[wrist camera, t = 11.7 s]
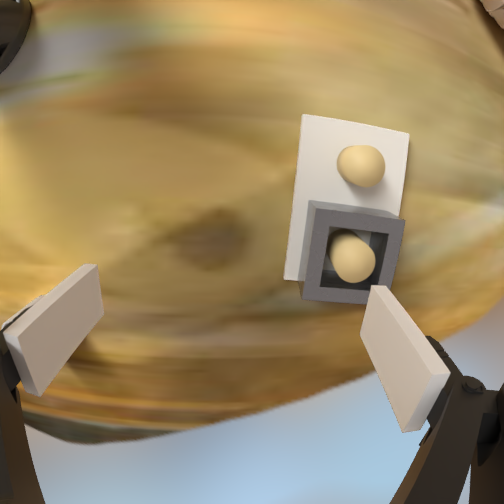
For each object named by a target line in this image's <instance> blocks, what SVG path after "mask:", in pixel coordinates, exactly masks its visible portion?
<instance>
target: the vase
mask: <svg viewBox="0 0 504 504" xmlns="http://www.w3.org/2000/svg"><path fill="white" fill-rule="evenodd" d="M480 1H481V2H482V3H483V6H484V8H485V10H486V11H487V12H489V15H490V16H491V17H494V19H495V20H496V22H497V23H498V24H499V25H500V27H501V28H502V29H504V0H480Z"/></svg>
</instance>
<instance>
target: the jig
mask: <svg viewBox="0 0 504 504" xmlns="http://www.w3.org/2000/svg"><path fill="white" fill-rule="evenodd" d="M408 143H409V134H407V133H403V132H399V131H395V130H390V129H386V128H381V127H376V126H372V125H367V124H362V123H356V122H351V121H345V120H340V119H334V118H327V117H321V116H314V115H307V114H302V117H301V128H300V138H299V148H298V158H297V167H296V176H295V185H294V194H293V203H292V211H291V220H290V228H289V236H288V244H287V252H286V260H285V267H284V275H283V276H284V279H285V280H295V281H298V280H297V279H298V273H299V266H300V259H301V253H302V246H303V239H304V231H305V224H306V216H307V209H308V201H309V200H314V201H322V202H330V203H337V204H345V205H352V206H359V207H366V208H373V209H379V210H386V211H389V212H391V213H393V214H395V215H396V216H399V210H400V204H401V198H402V191H403V185H404V177H405V170H406V162H407V153H408ZM370 237H371V231H365V230H357V229H349V228H341V227H333V226H330V227H329V233H328V240H327V246H326V252H325V258H324V264H323V269H322V270H332V271H336V272H337V274H338V275H339V277H340V278H341V279H343V280H344V281H346V282H350V283H357V282H360V281H363V280H365V279H366V278H367V277H368V276H369V275H370V274H371V273H372V271H373V269H374V267H375V255H374V252H373V251H372V249H371V248H370V247H369V242H370Z"/></svg>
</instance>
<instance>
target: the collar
mask: <svg viewBox="0 0 504 504" xmlns="http://www.w3.org/2000/svg"><path fill="white" fill-rule="evenodd" d="M330 226H333V227H341V228H349V229H357V230H365V231H371V237H370V242H369V247H370V248H371V249H372V251H373V252H374V255H375V267H374V269H373V271H372V273H371V274H370V275H369V276H368V277H367V278H366V279H365V280H363V281H360V282H357V283H350V282H346V281H344V280H343V279H341V278H340V277H339V275H338V274H337V272H336V271H332V270H322V269H323V264H324V258H325V252H326V246H327V240H328V233H329V227H330ZM404 226H405V220H404V219H402V218H400V217H398V216H396V215H395V214H393V213H391V212H389V211H386V210H379V209H373V208H366V207H359V206H352V205H345V204H337V203H330V202H322V201H314V200H309V201H308V209H307V216H306V224H305V231H304V239H303V246H302V253H301V259H300V266H299V273H298V279H297V280H298V285H299V289H300V293H301V298H302V299H303V300H314V301H327V302H340V303H354V304H367V303H368V298H369V294H370V290H371V285H380V286H386V287H387V288H388V289H389V290H390V288H391V284H392V280H393V276H394V272H395V268H396V264H397V259H398V255H399V250H400V246H401V241H402V236H403V231H404Z"/></svg>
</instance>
